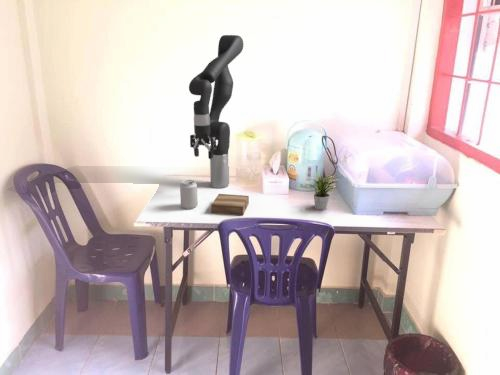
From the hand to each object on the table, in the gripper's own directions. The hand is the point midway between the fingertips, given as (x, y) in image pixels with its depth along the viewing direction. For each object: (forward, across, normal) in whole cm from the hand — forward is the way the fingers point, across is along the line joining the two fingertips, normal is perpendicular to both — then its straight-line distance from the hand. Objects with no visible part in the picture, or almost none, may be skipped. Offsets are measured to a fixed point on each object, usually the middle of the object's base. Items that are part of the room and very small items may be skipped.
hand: (203, 157), depth 207 cm
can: (+19, -5, +17) cm, 26 cm away
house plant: (+20, -54, -16) cm, 60 cm away
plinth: (+19, -21, +8) cm, 30 cm away
